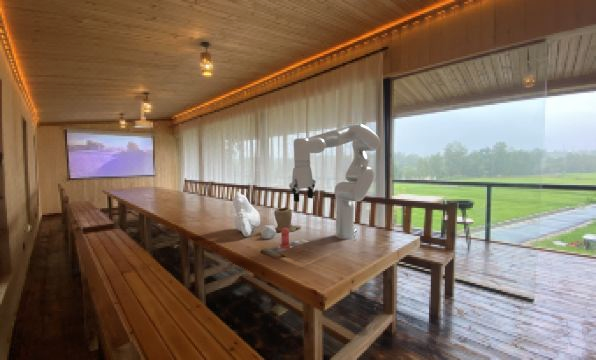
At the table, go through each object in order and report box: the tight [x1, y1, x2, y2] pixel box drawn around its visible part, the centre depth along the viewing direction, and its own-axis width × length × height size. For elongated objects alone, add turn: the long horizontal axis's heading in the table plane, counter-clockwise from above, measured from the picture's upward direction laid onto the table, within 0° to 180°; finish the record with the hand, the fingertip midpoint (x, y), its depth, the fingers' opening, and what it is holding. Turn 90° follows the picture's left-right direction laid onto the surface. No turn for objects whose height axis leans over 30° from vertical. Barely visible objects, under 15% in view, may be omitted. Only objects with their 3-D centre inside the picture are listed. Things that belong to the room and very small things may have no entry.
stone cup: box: [273, 206, 302, 233], centre depth 160 cm, size 15×12×15 cm
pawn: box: [279, 227, 291, 250], centre depth 129 cm, size 5×5×10 cm
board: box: [260, 238, 310, 259], centre depth 132 cm, size 26×12×1 cm, turn 136°
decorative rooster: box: [232, 191, 261, 238], centre depth 156 cm, size 25×16×25 cm
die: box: [260, 224, 278, 240], centre depth 145 cm, size 8×9×10 cm
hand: (303, 199), depth 129 cm, fingers open, 9 cm apart
